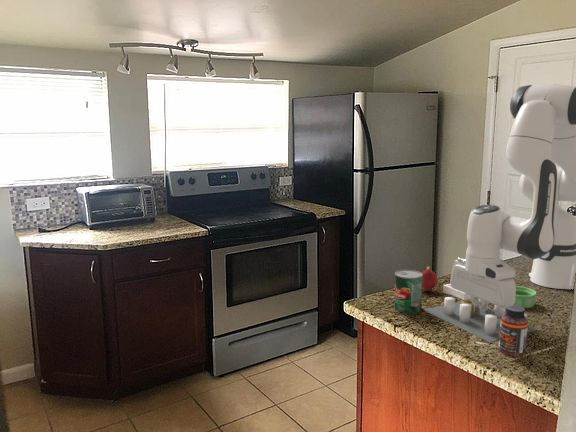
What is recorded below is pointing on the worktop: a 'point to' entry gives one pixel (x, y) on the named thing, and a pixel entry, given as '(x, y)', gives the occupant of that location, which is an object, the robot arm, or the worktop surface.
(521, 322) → the supplement bottle
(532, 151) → the robot arm
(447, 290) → the ceramic dish
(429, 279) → the pomegranate
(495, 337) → the mat
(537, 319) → the worktop surface
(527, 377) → the worktop surface
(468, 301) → the tan faceted block
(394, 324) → the worktop surface
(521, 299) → the ramekin
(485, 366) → the worktop surface
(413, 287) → the canned tomato
